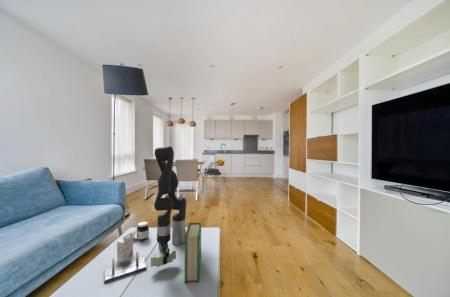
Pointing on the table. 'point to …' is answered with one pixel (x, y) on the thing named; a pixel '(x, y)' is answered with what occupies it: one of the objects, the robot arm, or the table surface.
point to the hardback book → (193, 252)
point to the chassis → (124, 268)
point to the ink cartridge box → (125, 247)
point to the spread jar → (142, 231)
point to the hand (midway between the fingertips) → (163, 261)
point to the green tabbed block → (158, 258)
